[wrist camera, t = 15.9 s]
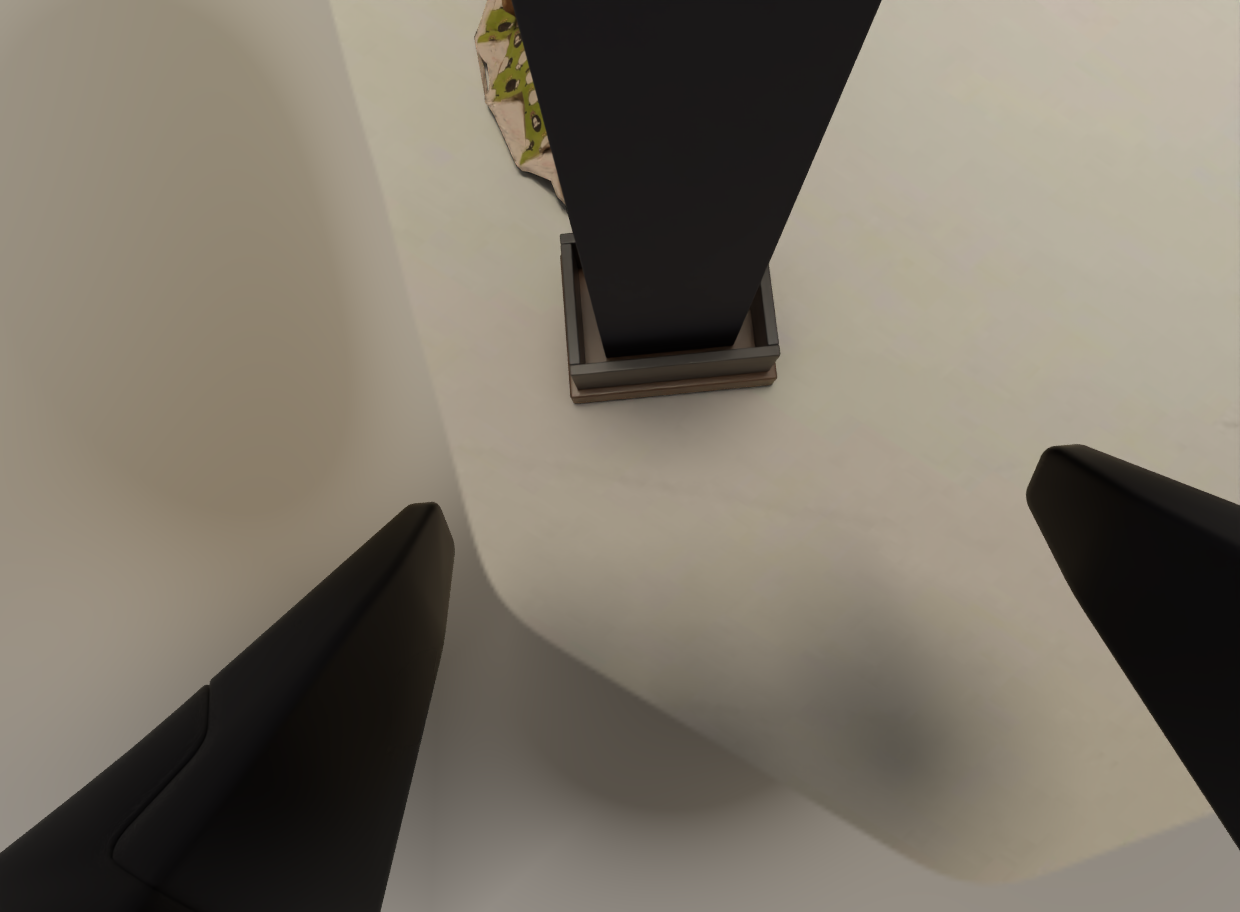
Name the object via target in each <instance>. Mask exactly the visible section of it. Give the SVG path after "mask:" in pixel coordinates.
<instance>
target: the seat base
mask: <svg viewBox="0 0 1240 912" xmlns="http://www.w3.org/2000/svg"><path fill="white" fill-rule="evenodd" d="M560 243H561V256H560V260H561V273H562V287H563V301H564V315H565V328H566V342H567V356H568V369H569V383H570V397H571V399H572V400H573V402H574V403H575V404H576V403H587V402H597V401H608V400H618V399H629V398H639V397H649V396H660V395H670V394H681V393H691V392H702V391H712V390H723V389H733V388H744V387H754V386H765V385H772V384H773V382H774V381H775V380H776V379H777V372H776V364H775V362H776V360H777V359H778V357H779V356H780V348H779V345H778V344H779V340H778V333H777V325H776V317H775V309H774V301H773V294H772V286H771V278H770V270H769V264H768V266H767V269H766V271H765V273H764V276H763V278H762V280H761V283H760V285H759V287H758V290H757V292H756V294H755V297H754V299H753V301H752V304H751V306H750V308H749V311H748V313H747V315H746V318H745V320H744V322H743V325H742V327H741V329H740V332H739V334H738V336H737V339H736V341H735V343H734V345H733V346H722V347H712V348H702V349H692V350H682V351H671V352H661V353H651V354H641V355H631V356H620V357H610V358H607V357H606V356H605V353H604V349H603V345H602V341H601V337H600V334H599V330H598V326H597V322H596V319H595V315H594V311H593V307H592V303H591V300H590V296H589V292H588V288H587V284H586V281H585V277H584V273H583V269H582V266H581V262H580V258H579V254H578V250H577V247H576V243H575V239H574V235H573V233H567V234H560Z"/></svg>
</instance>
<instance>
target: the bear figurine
mask: <svg viewBox="0 0 1240 912" xmlns="http://www.w3.org/2000/svg"><path fill="white" fill-rule="evenodd" d="M474 38H475V44H476V49H477V55H478V60H479V66H480V71H481V77H482V82H483V88H484V93H485V103H486V104H487V105H488V106H489V108H490V109H491V111H492V112H493V114H494V116H495V118H496V121H497V123H498V125H499V127H500V130H501V132H502V134H503V136H504V139H505V141H506V143H507V145H508V148H509V150H510V152H511V154H512V157H513V159H514V161H515V163H516V165H517V166H518V167H519V168H520V169H521V170H522V171H528V172H531V173H533V174H536V175H538V176H541V177H543V178H546V179H548V180H550V181H551V182H552V184H553V187H554V190H555V193H556V195H557V196H558V198H559V199H560V200H561V201H562V202H563V203H564V204H565V201H564V197H563V194H562V190H561V186H560V182H559V179H558V175H557V171H556V167H555V163H554V160H553V156H552V152H551V148H550V144H549V141H548V137H547V133H546V129H545V126H544V122H543V118H542V114H541V110H540V107H539V103H538V99H537V95H536V91H535V88H534V84H533V80H532V76H531V73H530V69H529V65H528V61H527V57H526V54H525V50H524V46H523V42H522V38H521V35H520V31H519V27H518V23H517V20H516V16H515V12H514V8H513V4H512V1H511V0H487V3H486V6H485V9H484V12H483V16H482V19H481V21H480V24H479V26H478V29H477V31H476V34H475V36H474ZM483 60H484V61H485V62H486V63H487V67H488V73H489V80H490V84H489V91H488V92H487V85H486V77H485V70H484V63H483Z"/></svg>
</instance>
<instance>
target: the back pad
mask: <svg viewBox="0 0 1240 912" xmlns="http://www.w3.org/2000/svg"><path fill="white" fill-rule="evenodd" d="M511 1H512V4H513V8H514V12H515V16H516V20H517V23H518V27H519V31H520V35H521V38H522V42H523V46H524V50H525V54H526V57H527V61H528V65H529V69H530V73H531V76H532V80H533V84H534V88H535V91H536V95H537V99H538V103H539V107H540V110H541V114H542V118H543V122H544V126H545V129H546V133H547V137H548V141H549V144H550V148H551V152H552V156H553V160H554V163H555V167H556V171H557V175H558V179H559V182H560V186H561V190H562V194H563V197H564V201H565V205H566V209H567V213H568V216H569V220H570V224H571V228H572V232H573V235H574V239H575V243H576V247H577V250H578V254H579V258H580V262H581V266H582V269H583V273H584V277H585V281H586V284H587V288H588V292H589V296H590V300H591V303H592V307H593V311H594V315H595V319H596V322H597V326H598V330H599V334H600V337H601V341H602V345H603V349H604V353H605V356H606V357H607V358H610V357H620V356H631V355H641V354H651V353H661V352H671V351H682V350H692V349H702V348H712V347H722V346H733V345H734V343H735V341H736V339H737V336H738V334H739V332H740V329H741V327H742V325H743V322H744V320H745V318H746V315H747V313H748V311H749V308H750V306H751V304H752V301H753V299H754V297H755V294H756V292H757V290H758V287H759V285H760V283H761V280H762V278H763V276H764V273H765V271H766V269H767V266H768V264H769V262H770V259H771V257H772V255H773V252H774V250H775V248H776V245H777V243H778V241H779V238H780V236H781V234H782V231H783V229H784V227H785V224H786V222H787V220H788V217H789V215H790V213H791V210H792V208H793V206H794V203H795V201H796V199H797V196H798V194H799V192H800V189H801V187H802V185H803V182H804V180H805V178H806V175H807V173H808V171H809V168H810V166H811V164H812V161H813V159H814V157H815V154H816V152H817V150H818V147H819V145H820V143H821V140H822V138H823V136H824V133H825V131H826V129H827V126H828V124H829V122H830V119H831V117H832V115H833V112H834V110H835V108H836V105H837V103H838V101H839V98H840V96H841V94H842V91H843V89H844V87H845V84H846V82H847V80H848V77H849V75H850V73H851V71H852V68H853V66H854V64H855V61H856V59H857V57H858V54H859V52H860V50H861V47H862V45H863V43H864V40H865V38H866V36H867V33H868V31H869V29H870V26H871V24H872V22H873V19H874V17H875V15H876V12H877V10H878V8H879V5H880V3H881V1H882V0H511Z"/></svg>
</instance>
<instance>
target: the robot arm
mask: <svg viewBox="0 0 1240 912" xmlns="http://www.w3.org/2000/svg"><path fill="white" fill-rule="evenodd" d="M1026 500H1027V504H1028V506H1029V509H1030V511H1031V513H1032V515H1033V517H1034V518H1035V520H1036V522H1037V524H1038V526H1039V528H1040V530H1041V532H1042V534H1043V536H1044V538H1045V540H1046V542H1047V544H1048V546H1049V548H1050V550H1051V552H1052V554H1053V556H1054V558H1055V560H1056V562H1057V564H1058V566H1059V568H1060V570H1061V572H1062V574H1063V576H1064V578H1065V580H1066V581H1067V583H1068V585H1069V587H1070V589H1071V590H1072V592H1073V594H1074V596H1075V597H1076V599H1077V601H1078V602H1079V604H1080V606H1081V607H1082V609H1083V610H1084V612H1085V614H1086V615H1087V617H1088V618H1089V620H1090V621H1091V623H1092V624H1093V626H1094V627H1095V629H1096V630H1097V632H1098V633H1099V635H1100V637H1101V638H1102V640H1103V641H1104V643H1105V644H1106V646H1107V647H1108V649H1109V650H1110V652H1111V653H1112V655H1113V657H1114V658H1115V660H1116V661H1117V663H1118V664H1119V666H1120V667H1121V669H1122V670H1123V672H1124V673H1125V675H1126V676H1127V678H1128V680H1129V681H1130V683H1131V684H1132V686H1133V687H1134V689H1135V690H1136V692H1137V693H1138V695H1139V696H1140V698H1141V699H1142V701H1143V703H1144V704H1145V706H1146V707H1147V709H1148V710H1149V712H1150V713H1151V715H1152V716H1153V718H1154V719H1155V721H1156V723H1157V724H1158V726H1159V727H1160V729H1161V730H1162V732H1163V733H1164V735H1165V736H1166V738H1167V739H1168V741H1169V742H1170V744H1171V746H1172V747H1173V749H1174V750H1175V752H1176V753H1177V755H1178V756H1179V758H1180V759H1181V761H1182V762H1183V764H1184V765H1185V767H1186V769H1187V770H1188V772H1189V773H1190V775H1191V776H1192V778H1193V779H1194V781H1195V782H1196V784H1197V785H1198V787H1199V789H1200V790H1201V792H1202V793H1203V795H1204V796H1205V798H1206V799H1207V801H1208V802H1209V804H1210V805H1211V807H1212V808H1213V810H1214V812H1215V813H1216V815H1217V816H1218V818H1219V819H1220V821H1221V822H1222V824H1223V825H1224V827H1225V828H1226V830H1227V832H1228V833H1229V835H1230V836H1231V838H1232V839H1233V841H1234V842H1235V844H1236V845H1237V847H1238V848H1239V850H1240V505H1238V504H1235V503H1232V502H1230V501H1227V500H1225V499H1222V498H1219V497H1217V496H1214V495H1212V494H1209V493H1207V492H1204V491H1201V490H1199V489H1196V488H1194V487H1191V486H1188V485H1186V484H1183V483H1181V482H1178V481H1176V480H1173V479H1170V478H1168V477H1165V476H1163V475H1160V474H1157V473H1155V472H1152V471H1150V470H1147V469H1144V468H1142V467H1139V466H1137V465H1134V464H1132V463H1129V462H1126V461H1124V460H1121V459H1119V458H1116V457H1113V456H1111V455H1108V454H1106V453H1103V452H1100V451H1098V450H1095V449H1093V448H1090V447H1088V446H1085V445H1080V444H1072V445H1061V446H1053V447H1050V448H1048V449H1046V450H1045V451H1044V452H1043V454H1042V455H1041V458H1040V460H1039V462H1038V464H1037V467H1036V469H1035V471H1034V474H1033V476H1032V478H1031V480H1030V483H1029V485H1028V487H1027V491H1026ZM454 555H455V548H454V541H453V538H452V535H451V533H450V530H449V528H448V525H447V522H446V520H445V517H444V515H443V513H442V510H441V508H440V506H439V505H438V504H437V503H435V502H426V503H415V504H410V505H408V506H407V507H406V508H404V509H403V510H402V511H401V512H400V513H399V514H398V515H396V516H395V517H394V518H393V519H392V520H391V521H390V522H388V523H387V524H386V525H385V526H384V527H383V528H382V529H381V530H379V532H377V533H376V534H375V535H374V536H373V537H372V538H371V539H370V540H368V541H367V542H366V543H365V544H364V545H363V546H361V547H360V548H359V549H358V550H357V551H356V552H355V553H354V554H352V555H351V556H350V557H349V558H348V559H347V560H346V561H344V562H343V563H342V564H341V565H340V566H339V567H338V568H337V569H335V570H334V571H333V572H332V573H331V574H330V575H329V576H328V577H326V578H325V579H324V580H323V581H322V582H321V583H320V584H319V585H317V586H316V587H315V588H314V589H313V590H312V591H311V592H309V593H308V594H307V595H306V596H305V597H304V598H303V599H302V600H300V601H299V602H298V603H297V604H296V605H295V606H294V607H292V608H291V609H290V610H289V611H288V612H287V613H286V614H285V615H283V616H282V617H281V618H280V619H279V620H278V621H277V622H276V623H274V624H273V625H272V626H271V627H270V628H269V629H268V630H267V631H265V632H264V633H263V634H262V635H261V636H260V637H259V638H257V639H256V640H255V641H254V642H253V643H252V644H251V645H250V646H249V647H247V648H246V649H245V650H244V651H243V652H242V653H240V654H239V655H238V656H237V657H236V658H235V659H234V660H233V661H231V662H230V663H229V664H228V665H227V666H226V667H225V668H223V669H222V670H221V671H220V672H219V673H218V674H217V675H216V676H214V677H213V678H212V679H211V681H210V685H204V686H203V687H202V688H201V689H200V690H198V691H197V692H196V693H195V694H194V695H193V696H192V697H191V698H190V699H188V700H187V701H186V702H185V703H184V704H183V705H181V706H180V707H179V708H178V709H177V710H176V711H175V712H174V713H172V714H171V715H170V716H169V717H168V718H166V719H165V720H164V721H163V722H162V723H161V724H159V725H158V726H157V727H156V728H155V729H154V730H152V731H151V732H150V733H149V734H148V735H147V736H145V737H144V738H143V739H142V740H141V741H140V742H138V743H137V744H136V745H135V746H134V747H133V748H131V749H130V750H129V751H128V752H127V753H125V754H124V755H123V756H121V757H120V758H119V759H118V760H117V761H115V762H114V763H113V764H112V765H110V766H109V767H108V768H107V769H105V770H104V771H103V772H102V773H100V774H99V775H98V776H97V777H96V778H94V779H93V780H92V781H91V782H89V783H88V784H87V785H86V786H84V787H83V788H82V789H81V790H80V791H78V792H77V793H76V794H74V795H73V796H72V797H71V798H70V799H68V800H67V801H66V802H64V803H63V804H62V805H61V806H59V807H58V808H57V809H56V810H54V811H53V812H52V813H51V814H49V815H48V816H47V817H45V818H44V819H43V820H41V821H40V822H39V823H38V824H37V825H35V826H34V827H33V828H32V829H30V830H29V831H28V832H26V833H25V834H24V835H23V836H21V837H20V838H19V839H17V840H16V841H15V842H14V843H12V844H11V845H10V846H9V847H7V848H6V849H5V850H4V851H2V852H1V853H0V912H380V911H381V907H382V902H383V898H384V894H385V890H386V886H387V881H388V878H389V873H390V869H391V865H392V860H393V856H394V852H395V848H396V844H397V840H398V836H399V831H400V827H401V823H402V819H403V814H404V810H405V806H406V802H407V798H408V794H409V789H410V785H411V781H412V777H413V773H414V768H415V764H416V760H417V755H418V752H419V747H420V743H421V739H422V735H423V731H424V726H425V722H426V718H427V714H428V710H429V705H430V701H431V697H432V693H433V689H434V684H435V680H436V676H437V672H438V667H439V663H440V659H441V654H442V649H443V645H444V639H445V638H444V637H445V632H446V624H447V615H448V607H449V598H450V590H451V581H452V572H453V564H454Z"/></svg>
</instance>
